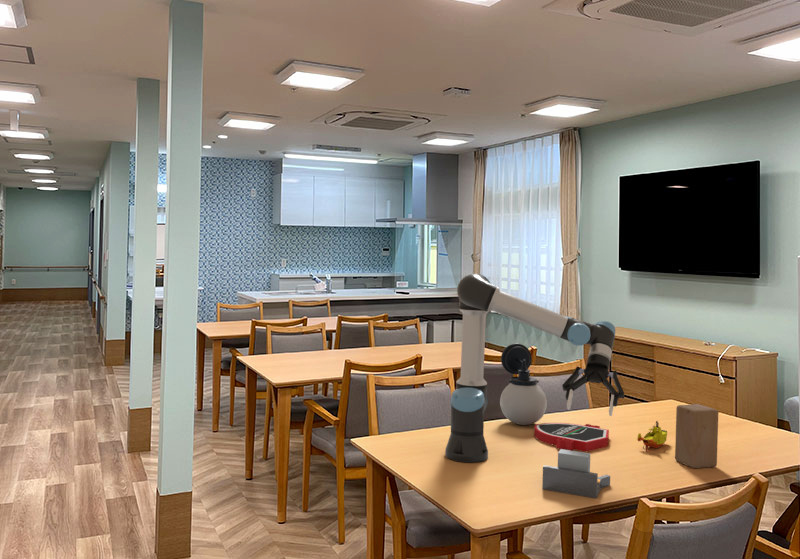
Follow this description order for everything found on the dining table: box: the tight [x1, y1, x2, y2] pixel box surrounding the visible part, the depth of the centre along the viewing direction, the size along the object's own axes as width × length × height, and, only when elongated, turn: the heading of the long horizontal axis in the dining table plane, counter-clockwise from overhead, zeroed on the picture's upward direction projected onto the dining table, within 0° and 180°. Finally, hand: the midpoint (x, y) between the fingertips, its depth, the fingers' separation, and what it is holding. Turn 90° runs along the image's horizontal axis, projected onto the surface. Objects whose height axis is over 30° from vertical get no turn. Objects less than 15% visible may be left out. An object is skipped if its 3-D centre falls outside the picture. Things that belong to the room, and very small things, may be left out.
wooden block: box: [674, 403, 719, 469], centre depth 223 cm, size 10×10×20 cm
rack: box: [541, 464, 611, 499], centre depth 199 cm, size 14×20×7 cm
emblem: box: [533, 422, 610, 452], centre depth 253 cm, size 30×4×30 cm
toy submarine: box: [637, 420, 668, 452], centre depth 244 cm, size 6×18×10 cm, turn 135°
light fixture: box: [499, 343, 548, 426], centre depth 276 cm, size 20×23×33 cm
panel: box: [557, 449, 591, 472], centre depth 197 cm, size 4×9×11 cm, turn 64°
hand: (588, 410), depth 212 cm, fingers open, 13 cm apart
